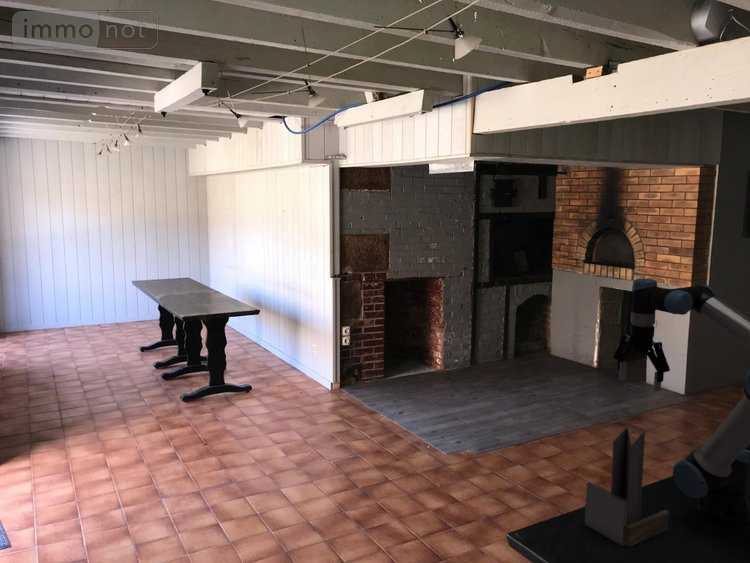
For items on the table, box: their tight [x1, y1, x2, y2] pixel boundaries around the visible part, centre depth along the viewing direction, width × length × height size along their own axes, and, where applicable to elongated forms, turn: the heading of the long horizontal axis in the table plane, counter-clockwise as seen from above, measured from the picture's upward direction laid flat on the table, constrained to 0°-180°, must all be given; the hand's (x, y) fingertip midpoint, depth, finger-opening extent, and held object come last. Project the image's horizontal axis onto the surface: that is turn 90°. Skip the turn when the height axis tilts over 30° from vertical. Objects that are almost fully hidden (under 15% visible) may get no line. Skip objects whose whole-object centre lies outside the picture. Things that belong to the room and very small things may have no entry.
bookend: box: [584, 481, 628, 547], centre depth 191 cm, size 14×2×14 cm, turn 30°
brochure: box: [610, 425, 646, 526], centre depth 195 cm, size 14×6×30 cm, turn 142°
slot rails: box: [584, 503, 670, 548], centre depth 196 cm, size 17×18×6 cm
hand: (639, 385), depth 212 cm, fingers open, 13 cm apart
